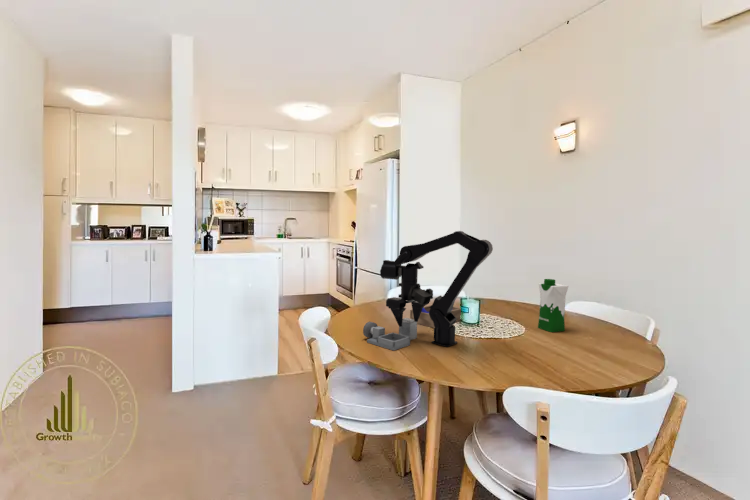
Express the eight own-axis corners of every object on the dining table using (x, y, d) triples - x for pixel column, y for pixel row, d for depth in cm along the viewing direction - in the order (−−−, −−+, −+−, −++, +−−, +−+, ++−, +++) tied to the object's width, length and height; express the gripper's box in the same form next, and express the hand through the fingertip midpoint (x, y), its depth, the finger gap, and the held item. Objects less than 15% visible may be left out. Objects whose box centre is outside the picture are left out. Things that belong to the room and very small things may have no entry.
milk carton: (534, 327, 162) (536, 278, 160) (551, 325, 165) (554, 277, 164) (551, 333, 154) (553, 281, 152) (568, 331, 157) (571, 280, 156)
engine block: (416, 338, 144) (417, 319, 144) (409, 340, 141) (410, 321, 141) (405, 335, 148) (406, 317, 147) (398, 337, 145) (399, 318, 144)
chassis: (410, 345, 136) (410, 331, 135) (393, 350, 129) (394, 336, 129) (380, 336, 145) (381, 324, 145) (364, 341, 139) (364, 328, 138)
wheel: (377, 336, 144) (378, 321, 143) (367, 339, 140) (367, 324, 139) (372, 335, 145) (373, 320, 145) (362, 338, 141) (362, 322, 141)
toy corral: (461, 319, 172) (462, 308, 172) (435, 328, 158) (435, 315, 158) (437, 314, 181) (437, 303, 181) (410, 322, 167) (410, 310, 166)
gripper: (410, 286, 131) (409, 333, 132) (443, 280, 144) (442, 323, 145) (385, 282, 138) (384, 327, 139) (418, 277, 152) (417, 318, 153)
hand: (408, 323), depth 144 cm, fingers open, 9 cm apart
